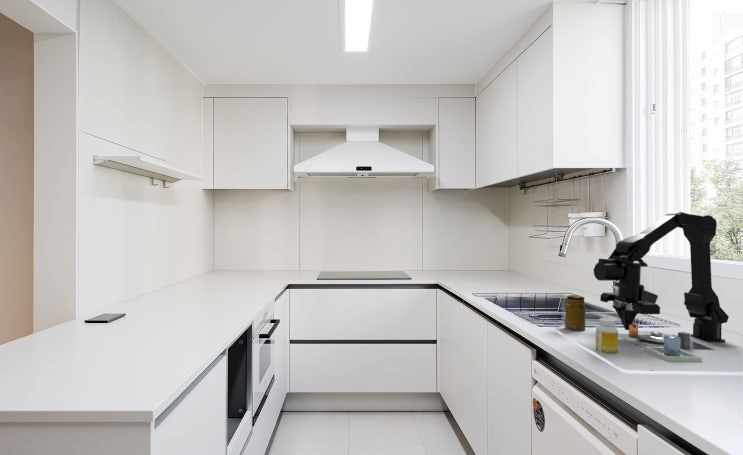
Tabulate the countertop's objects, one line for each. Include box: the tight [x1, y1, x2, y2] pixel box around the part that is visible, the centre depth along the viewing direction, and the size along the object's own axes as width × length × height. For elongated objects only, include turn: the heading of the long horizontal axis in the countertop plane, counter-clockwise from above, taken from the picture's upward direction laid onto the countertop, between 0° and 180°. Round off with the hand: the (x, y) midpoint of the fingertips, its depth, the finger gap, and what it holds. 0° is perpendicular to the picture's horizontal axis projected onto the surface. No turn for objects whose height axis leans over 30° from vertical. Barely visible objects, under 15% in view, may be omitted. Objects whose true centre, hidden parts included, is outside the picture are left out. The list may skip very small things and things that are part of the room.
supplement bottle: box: [595, 317, 619, 354], centre depth 116 cm, size 5×5×10 cm
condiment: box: [564, 294, 586, 332], centre depth 139 cm, size 7×8×12 cm
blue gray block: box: [663, 334, 681, 356], centre depth 112 cm, size 4×4×6 cm
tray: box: [644, 347, 703, 363], centre depth 112 cm, size 9×9×2 cm
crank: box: [628, 322, 673, 343], centre depth 127 cm, size 15×11×5 cm
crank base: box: [618, 331, 715, 351], centre depth 126 cm, size 20×16×5 cm
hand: (627, 330), depth 128 cm, fingers closed
